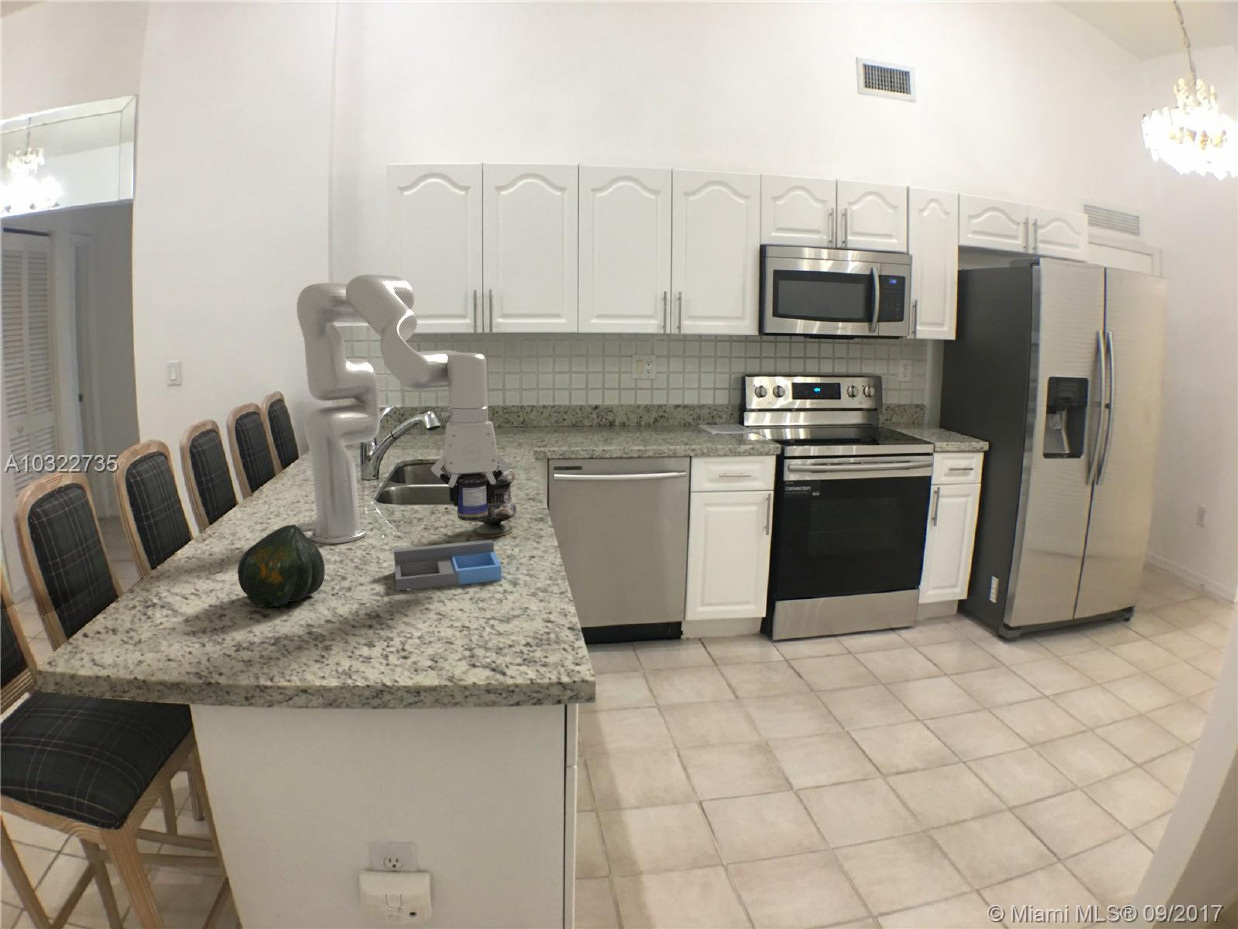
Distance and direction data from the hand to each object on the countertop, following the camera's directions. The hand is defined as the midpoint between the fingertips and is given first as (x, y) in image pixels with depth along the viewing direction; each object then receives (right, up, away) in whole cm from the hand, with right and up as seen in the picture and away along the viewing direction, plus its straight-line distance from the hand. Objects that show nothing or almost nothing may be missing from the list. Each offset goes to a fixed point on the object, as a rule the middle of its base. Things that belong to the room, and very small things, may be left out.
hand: (472, 502), depth 144 cm
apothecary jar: (-2, -9, +33) cm, 34 cm away
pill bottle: (0, -3, +1) cm, 3 cm away
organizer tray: (-5, -15, +2) cm, 16 cm away
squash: (-34, -18, -10) cm, 39 cm away
